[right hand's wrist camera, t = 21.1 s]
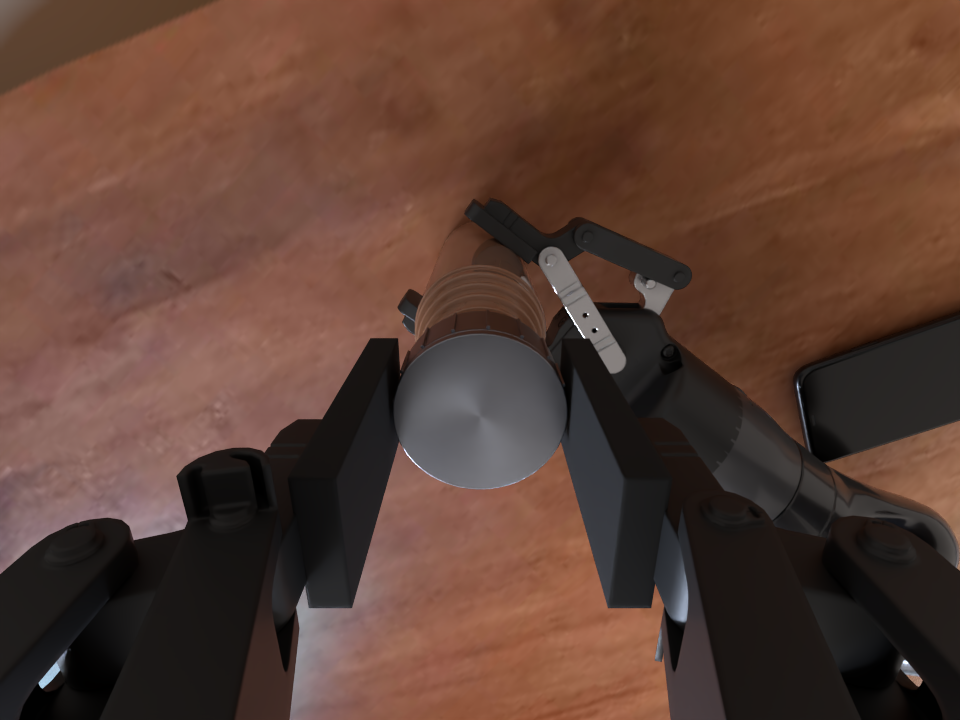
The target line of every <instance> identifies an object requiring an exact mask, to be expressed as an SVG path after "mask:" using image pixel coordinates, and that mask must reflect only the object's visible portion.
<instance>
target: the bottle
mask: <svg viewBox="0 0 960 720" xmlns="http://www.w3.org/2000/svg"><path fill="white" fill-rule="evenodd" d="M486 310H489V312H496V313H500V314H504V315H507V316H510V317H513V318H515V319H517V318H519V319H520V320H521V322H523V323H524V324H525V325H527V326H528V327H530V328H531V329H532V330H533V331H534V332H536V333H537V334H538V335H539V336H540V338H542V337H543V338H544V339H545V338H546V327H545V316H544V312H543V308H542V305H541V303H540V300H539V298H538V295H537V293H536V290H535V288H534V286H533V283H532V281H531V278H530V276H529V273H528V271H527V268H526V266H525V264H524V261H523V259H521V258H520V257H519V256H517V255H516V254H515V253H514V252H513V251H511V250H510V249H508V248H507V247H506V246H504V245H503V244H502V243H500V242H499V241H498V240H497V239H495V238H494V237H493V236H491V235H490V234H489V233H487V232H486V231H485V230H484V229H482V228H481V227H480V226H478V225H477V224H476V223H474V222H473V221H472V222H468V223H465V224H463V225H461V226H459V227H458V228H457V229H455V230H454V231H453V232H452V233H451V234H450V235H449V236H448V238H447V239H446V241H445V243H444V245H443V247H442V250H441V252H440V255H439V257H438V260H437V262H436V264H435V267H434V269H433V272H432V274H431V277H430V279H429V282H428V284H427V286H426V289H425V291H424V294H423V296H422V299H421V301H420V304H419V306H418V309H417V313H416V318H415V343H416V342H417V340H418V339H419V338H420V337H421V336H422V335H423V334H424V332H425V330H426V328H427V327H428V328H431V327H432V326H433V325H435V324H436V323H438V322H440V321H441V320H443V319H446V318H448V317H450V316H453V314H454V313H457V314H460V313H465V312H471V311H486Z"/></svg>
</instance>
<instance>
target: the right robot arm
mask: <svg viewBox="0 0 960 720" xmlns="http://www.w3.org/2000/svg"><path fill="white" fill-rule="evenodd" d="M560 372H561V375H562V377H563V380H564V383H565V387H564V390H565V394H566V398H567V406H568V418H567V424H566V429H565V432H564V435H563V438H562V440H561V443H562V447H563V450H564V454H565V457H566V461H567V464H568V468H569V472H570V475H571V479H572V482H573V486H574V489H575V493H576V496H577V500H578V503H579V507H580V510H581V514H582V518H583V521H584V525H585V528H586V532H587V535H588V539H589V542H590V546H591V549H592V553H593V556H594V560H595V564H596V567H597V571H598V574H599V578H600V581H601V585H602V588H603V592H604V595H605V599H606V602H607V606H608V608H651V605H652V599H653V593H654V587H655V584H656V586H657V589H658V591H659V594H660V596H661V598H662V601H663V603H664V610H663V616H662V622H661V627H660V633H659V638H658V644H657V650H656V656H655V661H660V662H662V658H663V653H664V662H665V671H666V681H667V690H668V699H669V708H670V717H671V720H960V571H959V570H958V569H957V568H956V567H955V566H953V565H952V564H951V563H950V562H949V561H948V560H946V559H945V558H944V557H943V556H942V555H941V554H939V553H938V552H937V551H936V550H935V549H934V548H932V547H931V546H930V545H929V544H927V543H926V542H925V541H923V540H922V539H920V538H919V537H917V536H916V535H914V534H913V533H911V532H909V531H907V530H905V529H903V528H900V527H898V526H896V525H895V524H893V523H890V522H887V521H884V520H883V521H882V520H881V519H876V518H872V517H863V516H854V515H853V516H847V517H840V518H838V519H837V520H836V521H835V522H833V523H832V524H831V527H830V530H829V534H828V537H827V538H824V537H819V536H814V535H809V534H804V533H799V532H794V531H790V530H786V529H782V528H778V527H775V526H774V524H773V521H772V520H771V518H770V517H769V516H768V514H767V513H766V512H765V510H764V509H763V508H761V507H760V506H758V505H757V504H756V503H754V502H753V501H751V500H749V499H747V498H745V497H743V496H740V495H738V494H736V493H732V492H728V491H725V490H724V489H723V488H722V486H721V485H720V484H719V482H718V481H717V479H716V478H715V477H714V475H713V474H712V473H711V471H710V470H709V468H708V467H707V466H706V464H705V463H704V462H703V460H702V459H701V458H700V457H698V453H697V452H696V451H695V449H694V448H693V447H692V445H690V442H689V441H688V440H687V438H686V437H685V436H684V434H683V433H682V431H681V430H680V429H679V428H677V427H676V426H674V425H673V424H671V423H670V422H668V421H666V420H665V419H663V418H637V417H636V416H635V414H634V412H633V411H632V409H631V407H630V406H629V404H628V402H627V400H626V399H625V397H624V395H623V394H622V392H621V390H620V389H619V387H618V385H617V384H616V382H615V380H614V379H613V377H612V375H611V374H610V372H609V370H608V369H607V367H606V365H605V364H604V362H603V360H602V359H601V357H600V355H599V354H598V352H597V350H596V349H595V347H594V345H593V343H592V342H591V340H590V338H562V346H561V362H560ZM399 380H400V362H399V346H398V338H370V340H369V342H368V343H367V345H366V347H365V349H364V350H363V352H362V354H361V355H360V357H359V359H358V360H357V362H356V364H355V365H354V367H353V369H352V370H351V372H350V374H349V375H348V377H347V379H346V380H345V382H344V384H343V385H342V387H341V389H340V390H339V392H338V394H337V395H336V397H335V399H334V400H333V402H332V404H331V406H330V407H329V409H328V411H327V412H326V414H325V416H324V417H323V419H298V420H296V421H295V422H293V423H292V424H290V425H289V426H287V427H286V428H284V429H283V430H281V431H280V432H279V434H278V435H277V436H276V438H275V439H274V440H273V442H272V443H271V447H268V449H267V450H266V451H265V453H264V452H263V451H261V450H257V449H253V448H230V449H225V450H220V451H215V452H213V453H210V454H208V455H205V456H202V457H200V458H198V459H196V460H195V461H193V462H191V463H190V464H188V465H186V466H185V467H184V468H183V469H182V470H181V471H180V473H179V474H178V475H177V476H176V477H177V480H178V484H179V488H180V492H181V496H182V499H183V503H184V507H185V511H186V515H187V518H188V522H187V524H186V527H185V529H183V530H179V531H175V532H172V533H167V534H162V535H157V536H152V537H148V538H143V539H138V540H133V537H132V534H131V530H130V527H129V526H128V525H127V524H126V523H125V522H123V521H122V520H119V519H112V518H101V519H92V520H86V521H82V522H80V523H75V524H72V525H69V526H67V527H65V528H63V529H61V530H59V531H57V532H55V533H53V534H50V535H48V536H47V537H46V538H44V539H43V540H41V541H40V542H38V543H37V544H36V545H34V546H33V547H31V548H30V549H29V550H28V551H27V552H26V553H24V554H23V555H22V556H21V557H20V558H19V559H17V560H16V561H15V562H14V563H13V564H12V565H10V566H9V567H8V568H7V569H6V570H5V571H4V572H2V573H1V574H0V720H289V718H290V709H291V700H292V691H293V682H294V673H295V664H296V655H297V645H298V636H299V623H298V616H297V610H296V606H297V603H298V601H299V599H300V596H301V594H302V591H303V589H304V586H305V587H306V593H307V599H308V605H309V608H352V606H353V602H354V599H355V595H356V592H357V588H358V585H359V581H360V578H361V574H362V571H363V567H364V563H365V560H366V556H367V553H368V549H369V546H370V542H371V539H372V535H373V532H374V528H375V525H376V521H377V517H378V514H379V510H380V507H381V503H382V500H383V496H384V493H385V489H386V486H387V482H388V479H389V475H390V471H391V468H392V464H393V461H394V457H395V454H396V450H397V447H398V443H399V439H398V437H397V434H396V431H395V427H394V423H393V398H394V394H395V391H396V388H397V385H398V382H399ZM904 659H905V660H906V661H907V662H908V663H909V664H910V666H911V667H912V668H913V669H914V670H915V672H916V673H917V674H918V675H919V676H920V677H921V679H922V680H923V681H922V684H921V685H920V686H919V687H918V686H916V685H915V684H914V683H913V682H912V681H911V680H910V679H909V678H908V677H907V676H906V674H905V673H904V672H903V671H902V670H901V666H902V664H903V661H904ZM56 661H57V664H58V666H59V668H60V671H59V673H58V674H57V675H56V676H55V677H54V679H53V680H52V681H51V682H50V683H49V684H47V685H46V686H45V687H44V688H43V689H42V688H41V687H40V686H39V684H38V683H39V681H40V680H41V679H42V678H43V677H44V675H45V674H46V673H47V672H48V671H49V670H50V668H51V667H52V666H53V665H54V664H55V662H56Z"/></svg>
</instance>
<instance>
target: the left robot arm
mask: <svg viewBox="0 0 960 720" xmlns="http://www.w3.org/2000/svg"><path fill="white" fill-rule="evenodd" d="M464 214H465V215H466V216H467V217H468V218H469V219H471V220H472V221H473V222H474V223H476V224H477V225H478V226H480V227H481V228H482V229H484V230H485V231H486V232H487V233H489V234H490V235H491V236H493V237H494V238H495V239H497V240H498V241H499V242H500V243H502V244H503V245H504V246H506V247H507V248H508V249H510V250H511V251H513V252H514V253H515V254H516V255H517V256H519V257H520V258H521V259H523V260H524V261H525V262H527V263H528V264H529V263H530V262H531V260H532V261H533V262H534V263H536V264H537V265H538V266H540V268H541V269H542V271H543V273H544V274H545V276H546V277H547V279H548V281H549V282H550V284H551V285H552V287H553V289H554V290H555V292H556V294H557V295H558V297H559V298H560V300H561V302H562V303H563V305H564V307H565V308H566V309H565V308H564V307H562V308H561V309H560V310H559V312H558V313H557V314H556V315H555V316H554V318H553V320H552V322H551V324H550V326H549V328H548V330H547V332H546V338H545V342H546V345H547V347H548V349H549V350H550V352H551V355H552V357H553V359H554V362H555V363H557V364H558V367H559V369H560V362H561V346H562V338H590V340H591V342H592V343H593V345H594V347H595V349H596V350H597V352H598V354H599V355H600V357H601V359H602V360H603V362H604V364H605V365H606V367H607V369H608V370H609V372H610V374H611V375H612V377H613V379H614V380H615V382H616V384H617V385H618V387H619V389H620V390H621V392H622V394H623V395H624V397H625V399H626V400H627V402H628V404H629V406H630V407H631V409H632V411H633V412H634V414H635V416H636V417H637V418H663V419H665V420H666V421H668V422H670V423H671V424H673V425H674V426H676V427H677V428H679V429H680V430H681V431H682V433H683V434H684V436H685V437H686V438H687V440H688V441H689V442H690V445H692V447H693V448H694V449H695V451H696V452H697V453H698V457H700V458H701V459H702V460H703V462H704V463H705V464H706V466H707V467H708V468H709V470H710V471H711V473H712V474H713V475H714V477H715V478H716V479H717V481H718V482H719V484H720V485H721V486H722V488H723V489H724V490H725V491H728V492H732V493H736V494H738V495H740V496H743V497H745V498H747V499H749V500H751V501H753V502H754V503H756V504H757V505H758V506H760V507H761V508H763V509H764V510H765V512H766V513H767V514H768V516H769V517H770V518H771V520H772V521H773V524H774V526H775V527H778V528H782V529H786V530H790V531H794V532H799V533H804V534H809V535H814V536H819V537H824V538H827V537H828V534H829V530H830V527H831V524H832V523H833V522H835V521H836V520H837V519H838V518H840V517H847V516H853V515H854V516H863V517H872V518H876V519H881V520H882V521H883V520H884V521H887V522H890V523H893V524H895V525H896V526H898V527H900V528H903V529H905V530H907V531H909V532H911V533H913V534H914V535H916V536H917V537H919V538H920V539H922V540H923V541H925V542H926V543H927V544H929V545H930V546H931V547H932V548H934V549H935V550H936V551H937V552H938V553H939V554H941V555H942V556H943V557H944V558H945V559H946V560H948V561H949V562H950V563H951V564H952V565H953V566H955V567H956V568H958V564H959V556H960V552H959V545H958V542H957V539H956V537H955V535H954V533H953V531H952V529H951V527H950V526H949V525H948V523H947V522H946V521H945V520H944V519H943V518H942V517H941V516H940V515H939V514H938V513H937V512H935V511H934V510H933V509H931V508H929V507H927V506H925V505H923V504H921V503H919V502H916V501H914V500H912V499H909V498H906V497H903V496H900V495H897V494H894V493H890V492H887V491H884V490H881V489H877V488H875V487H872V486H869V485H867V484H865V483H862V482H860V481H858V480H855V479H853V478H851V477H849V476H847V475H845V474H842V473H840V472H838V471H836V470H834V469H832V468H831V467H829V466H827V465H826V464H825V463H823V462H822V461H821V460H819V459H818V458H817V457H816V456H814V455H813V454H812V453H810V452H809V451H808V450H807V449H805V448H804V447H803V446H802V445H800V444H799V443H798V442H796V441H795V440H794V439H793V438H791V437H790V436H789V435H788V434H787V433H786V432H784V431H783V430H782V428H781V427H780V426H779V425H778V424H777V423H776V422H775V421H774V420H773V419H772V418H771V417H770V415H768V414H767V413H766V412H765V411H764V410H763V409H762V408H761V407H760V406H758V405H757V404H756V403H754V402H753V401H752V400H751V399H749V398H748V397H747V395H746V394H745V393H744V392H743V391H742V390H741V389H739V388H738V387H736V386H734V385H732V384H730V383H729V382H728V381H726V380H725V379H724V378H723V377H721V376H720V375H719V374H718V373H716V372H715V371H714V370H712V369H711V368H710V367H709V366H707V365H706V364H705V363H704V362H702V361H701V360H700V359H698V358H697V357H696V356H695V355H693V354H692V353H691V352H690V351H688V350H687V349H686V348H684V347H683V346H682V345H681V344H679V343H678V342H677V341H676V340H674V339H673V338H672V337H671V336H669V335H668V333H667V331H666V329H665V326H664V323H663V320H662V318H661V317H660V316H659V315H660V313H661V312H662V310H663V308H664V306H665V305H666V303H667V301H668V299H669V298H670V296H671V294H672V292H673V291H674V289H675V290H679V289H682V288H684V287H686V286H687V285H688V284H689V283H690V281H691V278H692V272H691V270H690V268H689V267H688V266H686V265H684V264H682V263H681V262H679V261H677V260H675V259H673V258H671V257H669V256H667V255H665V254H663V253H661V252H659V251H656V250H654V249H652V248H650V247H647V246H645V245H643V244H641V243H638V242H636V241H634V240H632V239H629V238H627V237H625V236H623V235H620V234H618V233H616V232H614V231H611V230H609V229H607V228H605V227H602V226H600V225H598V224H596V223H594V222H591V221H589V220H587V219H585V218H582V217H576V218H574V219H572V220H571V221H570V222H569V223H568V225H566V226H565V227H563V228H562V229H560V230H558V231H557V232H555V233H552V234H545V233H542V232H540V231H539V230H537V229H536V228H535V227H533V226H532V225H531V224H530V223H528V222H527V221H526V220H525V219H523V218H522V217H521V216H520V215H518V214H517V213H516V212H514V211H513V210H512V209H511V208H509V207H508V206H507V205H506V204H504V203H503V202H502V201H500V200H496V199H493V198H489V200H488V201H487V202H486V204H485V205H484V206H483V205H482V204H481V203H479V202H478V201H477V200H475V199H473V200H472V202H471V203H470V204H469V206H468V207H467V209H466V210H465V213H464ZM584 251H587V252H589V253H591V254H594V255H596V256H598V257H601V258H603V259H605V260H608V261H610V262H612V263H614V264H617V265H619V266H621V267H624V268H626V269H628V270H630V271H631V272H630V274H629V281H630V284H631V285H632V286H633V287H634V288H636V289H637V290H638V291H639V293H640V301H639V303H602V302H592V300H591V299H590V297H589V295H588V294H587V292H586V290H585V289H584V287H583V286H582V284H581V283H580V281H579V279H578V278H577V276H576V274H575V273H574V271H573V269H572V268H571V266H570V264H569V262H568V261H569V260H571V259H572V258H574V257H576V256H577V255H579V254H580V253H582V252H584ZM421 299H422V295H420V294H419V293H417V292H416V291H414V290H412V289H409V290H408V291H407V293H406V294H405V296H404V297H403V298H402V300H401V302H400V303H399V305H398V309H399V311H400V312H401V313H402V314H404V315H405V317H404V319H403V321H402V323H403V324H404V326H405V327H406V328H407V330H408V331H409V332H411V333H412V334H413V335H415V318H416V313H417V309H418V306H419V304H420V301H421ZM901 670H902V671H903V672H904V673H905V674H906V675H911V676H918V677H920V676H919V675H918V674H917V673H916V672H915V670H914V669H913V668H912V667H911V666H910V664H909V663H908V662H907V661H906V660H905V659H904V661H903V664H902V666H901Z"/></svg>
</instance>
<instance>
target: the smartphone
mask: <svg viewBox="0 0 960 720" xmlns="http://www.w3.org/2000/svg"><path fill="white" fill-rule="evenodd" d="M793 385H794V391H795V396H796V401H797V407H798V412H799V417H800V422H801V428H802V433H803V438H804V443H805V448H806V449H807V450H808V451H809V452H810V453H812V454H813V455H814V456H816V457H817V458H818V459H819V460H821V461H822V462H823V463H827V462H831V461H834V460H837V459H840V458H843V457H847V456H850V455H853V454H856V453H859V452H862V451H866V450H869V449H872V448H875V447H878V446H881V445H884V444H888V443H891V442H894V441H897V440H900V439H903V438H906V437H910V436H913V435H916V434H919V433H922V432H925V431H928V430H932V429H935V428H938V427H941V426H944V425H947V424H950V423H954V422H957V421H960V311H959V312H956V313H953V314H951V315H948V316H945V317H942V318H939V319H936V320H933V321H930V322H927V323H924V324H922V325H919V326H916V327H913V328H910V329H907V330H904V331H901V332H898V333H895V334H893V335H890V336H887V337H884V338H881V339H878V340H875V341H872V342H869V343H867V344H864V345H861V346H858V347H855V348H852V349H849V350H846V351H843V352H840V353H838V354H835V355H832V356H829V357H826V358H823V359H820V360H817V361H814V362H811V363H809V364H806V365H804V366H802V367H801V368H799V369H798V370H797V371H796V373H795V375H794V378H793Z"/></svg>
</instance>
